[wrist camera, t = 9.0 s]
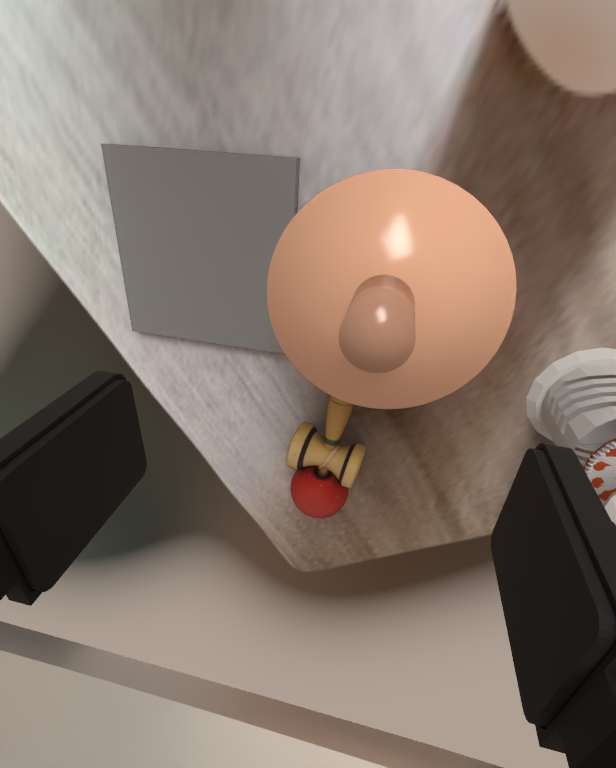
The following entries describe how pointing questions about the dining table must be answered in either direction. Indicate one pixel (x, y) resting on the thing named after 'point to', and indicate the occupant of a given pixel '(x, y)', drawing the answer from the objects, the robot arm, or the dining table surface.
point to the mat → (200, 239)
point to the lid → (391, 289)
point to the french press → (581, 414)
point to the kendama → (324, 463)
